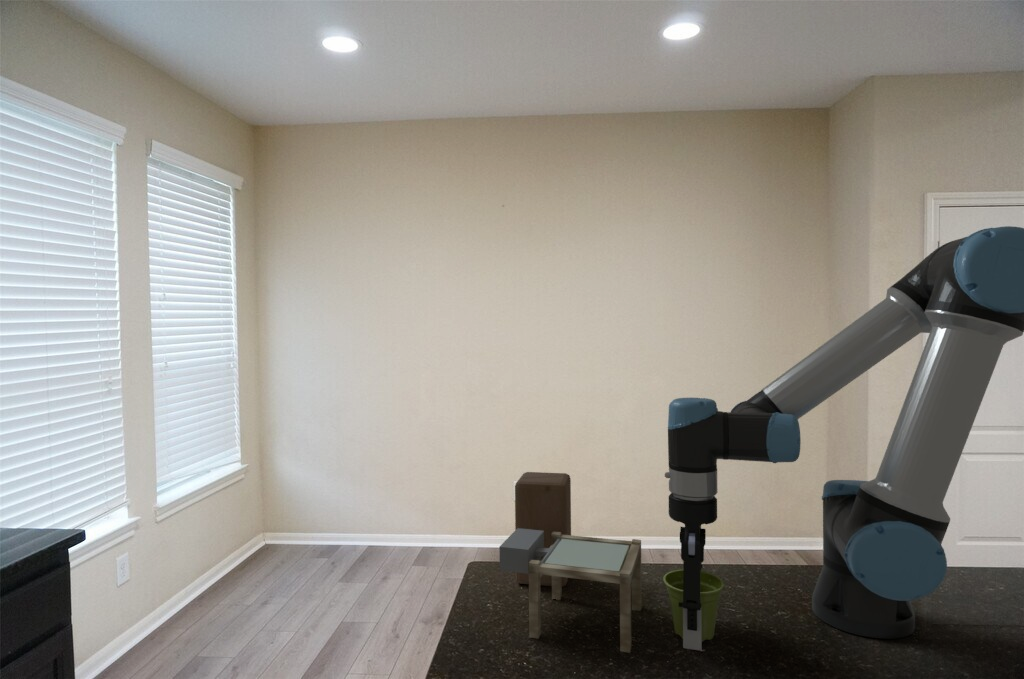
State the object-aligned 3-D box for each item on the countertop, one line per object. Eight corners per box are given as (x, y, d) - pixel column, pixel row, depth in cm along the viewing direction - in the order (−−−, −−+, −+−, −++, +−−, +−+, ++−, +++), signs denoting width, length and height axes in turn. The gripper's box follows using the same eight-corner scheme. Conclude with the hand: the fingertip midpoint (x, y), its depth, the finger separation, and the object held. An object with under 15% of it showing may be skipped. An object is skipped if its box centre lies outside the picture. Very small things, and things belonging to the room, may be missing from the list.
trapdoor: (629, 559, 107) (628, 536, 106) (618, 587, 95) (618, 562, 95) (519, 547, 113) (519, 526, 113) (497, 573, 101) (497, 549, 101)
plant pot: (660, 642, 96) (660, 587, 95) (666, 616, 104) (666, 566, 104) (723, 653, 92) (723, 596, 92) (724, 624, 101) (724, 573, 101)
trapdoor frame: (641, 607, 108) (641, 539, 108) (630, 652, 93) (629, 574, 92) (553, 595, 113) (553, 531, 113) (529, 637, 98) (528, 562, 97)
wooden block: (566, 589, 116) (565, 484, 115) (514, 585, 118) (513, 482, 117) (571, 569, 125) (570, 472, 125) (524, 565, 127) (523, 470, 127)
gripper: (672, 476, 110) (673, 599, 110) (663, 512, 89) (664, 664, 89) (716, 479, 107) (717, 605, 108) (717, 516, 86) (718, 673, 87)
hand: (693, 632), depth 98 cm, fingers open, 10 cm apart
